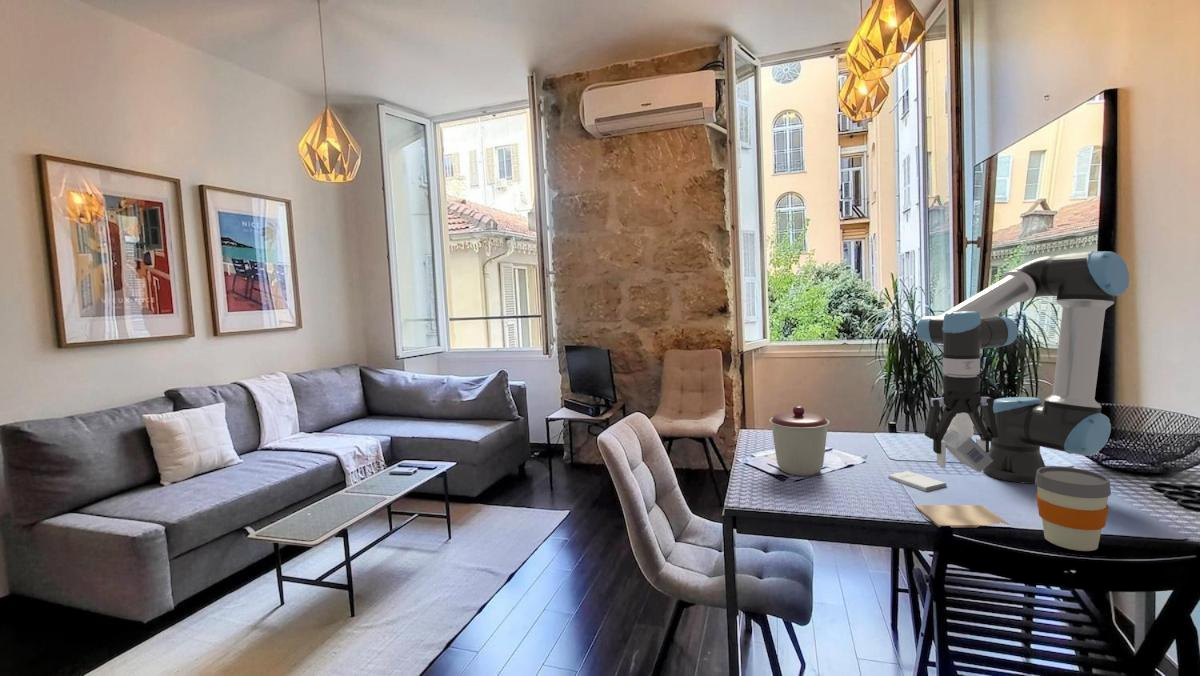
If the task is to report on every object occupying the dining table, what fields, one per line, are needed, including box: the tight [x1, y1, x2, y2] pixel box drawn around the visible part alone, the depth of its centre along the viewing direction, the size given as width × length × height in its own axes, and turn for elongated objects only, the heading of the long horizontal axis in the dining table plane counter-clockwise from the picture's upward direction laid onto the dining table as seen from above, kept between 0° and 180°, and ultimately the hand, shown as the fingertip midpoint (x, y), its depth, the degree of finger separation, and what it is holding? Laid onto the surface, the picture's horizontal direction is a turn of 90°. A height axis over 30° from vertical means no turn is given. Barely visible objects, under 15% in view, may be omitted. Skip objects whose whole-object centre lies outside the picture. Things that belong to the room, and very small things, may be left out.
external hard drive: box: [887, 470, 947, 492], centre depth 159 cm, size 2×8×12 cm
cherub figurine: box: [941, 388, 975, 438], centre depth 187 cm, size 12×12×22 cm
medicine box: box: [942, 429, 993, 473], centre depth 131 cm, size 8×4×9 cm
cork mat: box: [915, 504, 1010, 529], centre depth 134 cm, size 16×12×1 cm
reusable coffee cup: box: [1034, 466, 1112, 552], centre depth 119 cm, size 13×13×15 cm
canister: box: [768, 405, 830, 477], centre depth 173 cm, size 18×18×21 cm
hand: (960, 465), depth 133 cm, fingers closed on medicine box, 8 cm apart
